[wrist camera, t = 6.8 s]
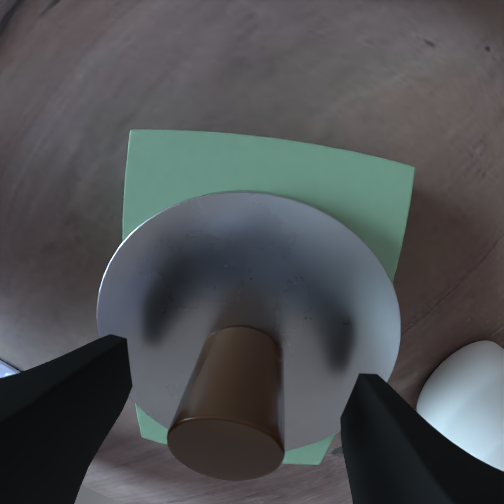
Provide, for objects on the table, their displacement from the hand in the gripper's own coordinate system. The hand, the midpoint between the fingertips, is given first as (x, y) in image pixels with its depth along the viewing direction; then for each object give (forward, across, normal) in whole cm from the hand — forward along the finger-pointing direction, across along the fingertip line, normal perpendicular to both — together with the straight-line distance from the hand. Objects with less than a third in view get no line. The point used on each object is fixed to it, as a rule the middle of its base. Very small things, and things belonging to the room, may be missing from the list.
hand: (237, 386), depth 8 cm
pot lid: (+2, 0, 0) cm, 2 cm away
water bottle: (+6, -14, +4) cm, 16 cm away
